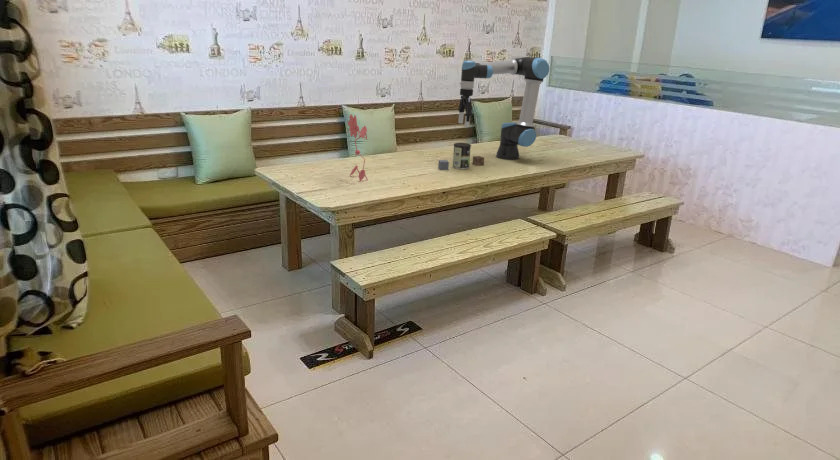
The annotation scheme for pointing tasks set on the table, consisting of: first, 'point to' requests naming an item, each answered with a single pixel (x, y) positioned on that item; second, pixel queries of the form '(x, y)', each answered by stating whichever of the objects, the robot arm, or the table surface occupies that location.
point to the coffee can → (461, 155)
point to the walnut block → (478, 160)
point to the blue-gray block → (443, 165)
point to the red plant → (353, 131)
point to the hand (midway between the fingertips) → (463, 125)
